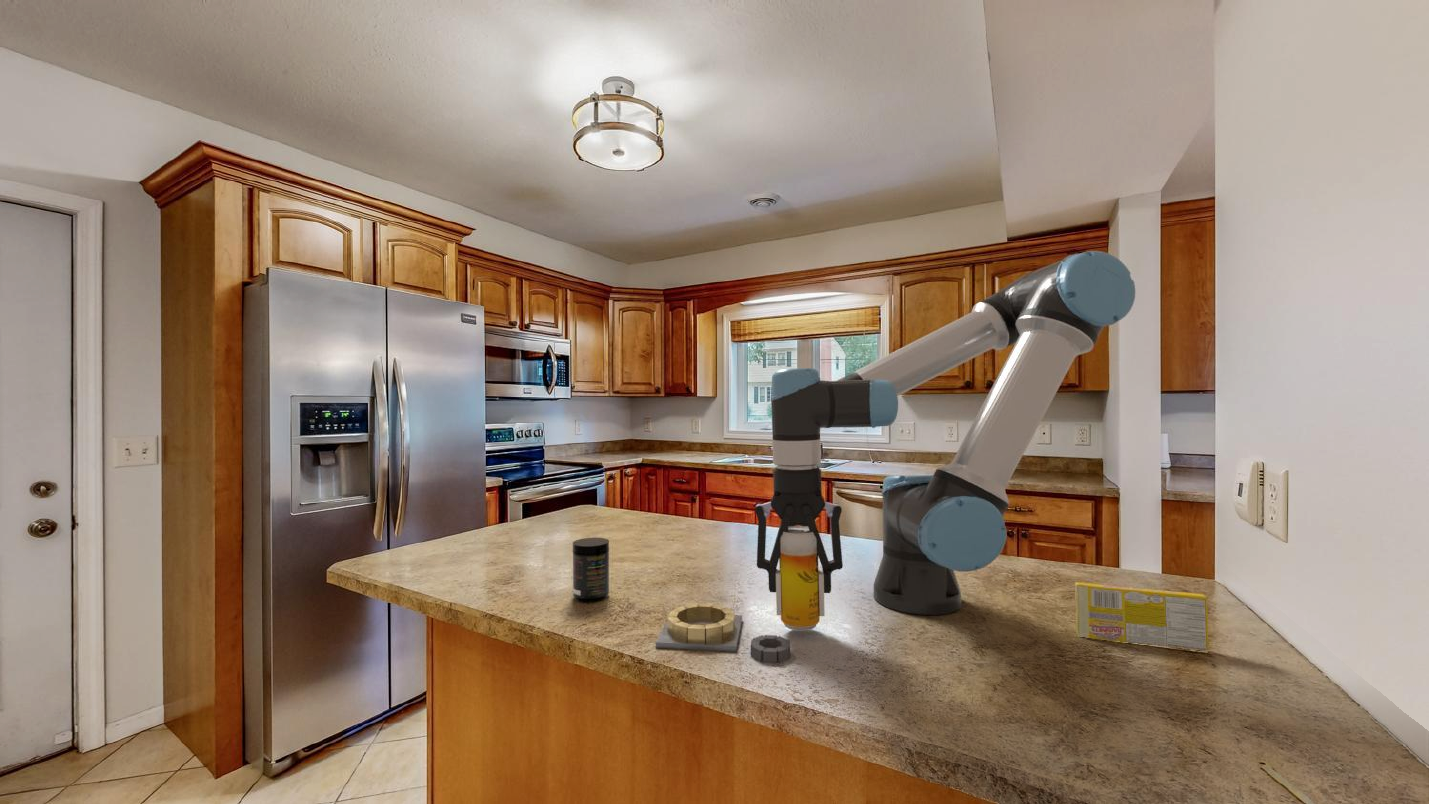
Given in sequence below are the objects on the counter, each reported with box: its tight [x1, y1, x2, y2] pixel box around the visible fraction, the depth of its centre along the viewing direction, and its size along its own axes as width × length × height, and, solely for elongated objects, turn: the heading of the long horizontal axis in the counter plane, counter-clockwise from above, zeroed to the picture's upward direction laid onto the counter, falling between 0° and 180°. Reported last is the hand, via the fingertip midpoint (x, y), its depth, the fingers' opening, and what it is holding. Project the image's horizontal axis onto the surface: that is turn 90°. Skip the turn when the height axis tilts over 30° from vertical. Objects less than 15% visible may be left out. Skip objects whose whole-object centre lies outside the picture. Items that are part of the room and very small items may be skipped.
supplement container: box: [571, 537, 610, 604], centre depth 106 cm, size 7×7×10 cm
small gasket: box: [750, 634, 791, 664], centre depth 82 cm, size 6×6×2 cm
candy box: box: [1074, 581, 1210, 652], centre depth 85 cm, size 16×2×8 cm, turn 68°
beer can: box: [778, 525, 821, 632], centre depth 89 cm, size 6×6×15 cm
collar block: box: [655, 603, 743, 653], centre depth 89 cm, size 12×12×3 cm
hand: (800, 612), depth 89 cm, fingers closed on beer can, 6 cm apart
